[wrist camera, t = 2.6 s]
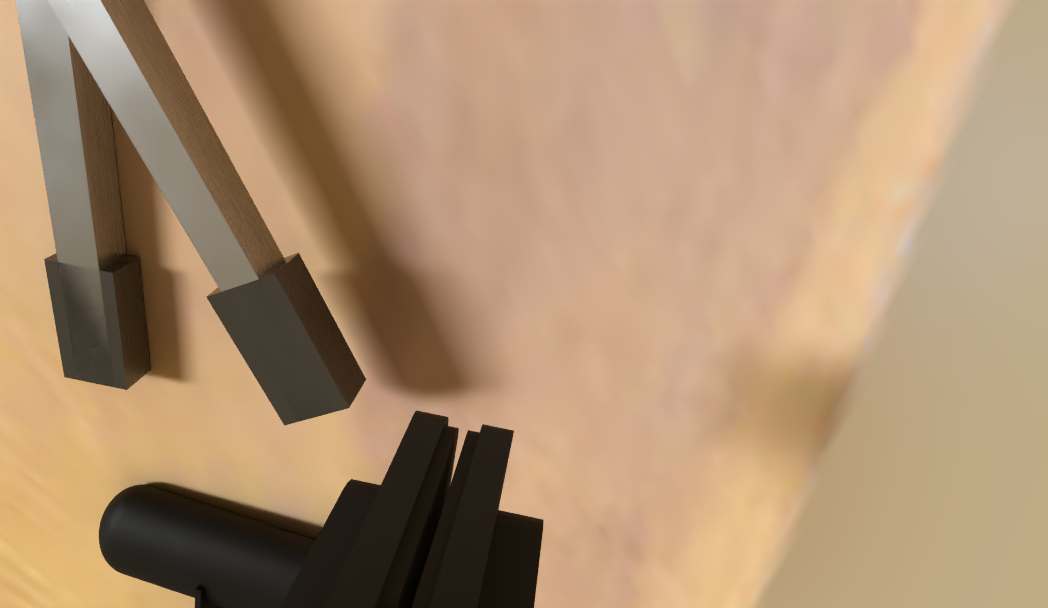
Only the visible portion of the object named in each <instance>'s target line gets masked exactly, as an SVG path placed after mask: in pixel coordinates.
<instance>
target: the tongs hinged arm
mask: <svg viewBox="0 0 1048 608" xmlns="http://www.w3.org/2000/svg"><path fill="white" fill-rule="evenodd" d="M48 2H49V4H50V5H51V7H52V9H53V10H54V12H55V14H56V16H57V17H58V19H59V21H60V22H61V24H62V26H63V27H64V29H65V31H66V32H67V34H68V36H69V37H70V39H71V41H72V42H73V44H74V46H75V47H76V49H77V51H78V52H79V54H80V56H81V57H82V59H83V61H84V62H85V64H86V66H87V67H88V69H89V71H90V72H91V74H92V76H93V78H94V79H95V81H96V83H97V84H98V86H99V88H100V89H101V91H102V93H103V94H104V96H105V98H106V99H107V101H108V103H109V104H110V106H111V108H112V109H113V111H114V113H115V114H116V116H117V118H118V119H119V121H120V123H121V124H122V126H123V128H124V129H125V131H126V133H127V134H128V136H129V138H130V140H131V141H132V143H133V145H134V146H135V148H136V150H137V151H138V153H139V155H140V156H141V158H142V160H143V161H144V163H145V165H146V166H147V168H148V170H149V171H150V173H151V175H152V176H153V178H154V180H155V181H156V183H157V185H158V186H159V188H160V190H161V191H162V193H163V195H164V196H165V198H166V200H167V202H168V203H169V205H170V207H171V208H172V210H173V212H174V213H175V215H176V217H177V218H178V220H179V222H180V223H181V225H182V227H183V228H184V230H185V232H186V233H187V235H188V237H189V238H190V240H191V242H192V243H193V245H194V247H195V248H196V250H197V252H198V253H199V255H200V257H201V259H202V260H203V262H204V264H205V265H206V267H207V269H208V270H209V272H210V274H211V275H212V277H213V279H214V280H215V282H216V284H217V285H218V288H217V289H216V290H215V291H213V292H212V293H211V294H209V295H208V296H207V299H208V300H209V302H210V304H211V305H212V307H213V309H214V310H215V312H216V313H217V315H218V317H219V318H220V320H221V322H222V323H223V325H224V327H225V328H226V330H227V332H228V333H229V335H230V336H231V338H232V340H233V341H234V343H235V345H236V346H237V348H238V350H239V351H240V353H241V355H242V356H243V358H244V359H245V361H246V363H247V364H248V366H249V368H250V369H251V371H252V373H253V374H254V376H255V378H256V379H257V381H258V383H259V384H260V386H261V387H262V389H263V391H264V392H265V394H266V396H267V397H268V399H269V401H270V402H271V404H272V406H273V407H274V409H275V410H276V412H277V414H278V415H279V417H280V419H281V420H282V422H283V424H284V425H288V424H291V423H295V422H299V421H302V420H306V419H310V418H314V417H317V416H321V415H325V414H328V413H332V412H336V411H340V410H343V409H347V408H349V407H350V405H351V404H352V402H353V400H354V399H355V397H356V395H357V394H358V392H359V391H360V389H361V387H362V386H363V384H364V382H365V381H366V378H365V376H364V375H363V373H362V371H361V369H360V367H359V365H358V363H357V361H356V360H355V358H354V356H353V354H352V352H351V350H350V348H349V346H348V345H347V343H346V341H345V339H344V337H343V335H342V333H341V331H340V330H339V328H338V326H337V324H336V322H335V320H334V318H333V316H332V315H331V313H330V311H329V309H328V307H327V305H326V303H325V301H324V300H323V298H322V296H321V294H320V292H319V290H318V288H317V286H316V285H315V283H314V281H313V279H312V277H311V275H310V273H309V271H308V270H307V268H306V266H305V264H304V262H303V260H302V258H301V256H300V255H299V253H297V254H294V255H291V256H288V257H285V258H284V257H283V255H282V253H281V252H280V250H279V248H278V246H277V244H276V242H275V241H274V239H273V237H272V235H271V233H270V231H269V230H268V228H267V226H266V224H265V222H264V220H263V219H262V217H261V215H260V213H259V211H258V209H257V207H256V206H255V204H254V202H253V200H252V198H251V196H250V195H249V193H248V191H247V189H246V187H245V185H244V184H243V182H242V180H241V178H240V176H239V174H238V173H237V171H236V169H235V167H234V165H233V163H232V162H231V160H230V158H229V156H228V154H227V152H226V151H225V149H224V147H223V145H222V143H221V141H220V139H219V138H218V136H217V134H216V132H215V130H214V128H213V127H212V125H211V123H210V121H209V119H208V117H207V116H206V114H205V112H204V110H203V108H202V106H201V105H200V103H199V101H198V99H197V97H196V95H195V94H194V92H193V90H192V88H191V86H190V84H189V83H188V81H187V79H186V77H185V75H184V73H183V71H182V70H181V68H180V66H179V64H178V62H177V60H176V59H175V57H174V55H173V53H172V51H171V49H170V48H169V46H168V44H167V42H166V40H165V38H164V37H163V35H162V33H161V31H160V29H159V27H158V26H157V24H156V22H155V20H154V18H153V16H152V15H151V13H150V11H149V9H148V7H147V5H146V3H145V2H144V0H48Z"/></svg>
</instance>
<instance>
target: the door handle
mask: <svg viewBox="0 0 1048 608" xmlns="http://www.w3.org/2000/svg"><path fill="white" fill-rule="evenodd" d="M315 541H316V540H314V539H311V538H308V537H305V536H301V535H298V534H295V533H292V532H289V531H286V530H283V529H280V528H277V527H274V526H271V525H268V524H265V523H262V522H259V521H256V520H253V519H250V518H247V517H244V516H241V515H237V514H234V513H231V512H228V511H225V510H222V509H219V508H216V507H213V506H210V505H207V504H204V503H201V502H198V501H195V500H192V499H189V498H186V497H183V496H180V495H177V494H173V493H170V492H167V491H164V490H161V489H158V488H155V487H152V486H148V485H136V486H132V487H129V488H127V489H125V490H123V491H122V492H120V493H119V494H118V495H116V496H115V497H114V498H113V499H112V501H111V502H110V503H109V505H108V506H107V508H106V510H105V511H104V514H103V516H102V519H101V522H100V528H99V544H100V548H101V552H102V554H103V556H104V558H105V560H106V561H107V563H108V564H109V565H110V566H111V567H112V568H113V569H115V570H116V571H118V572H120V573H122V574H125V575H128V576H131V577H134V578H137V579H140V580H143V581H146V582H149V583H152V584H155V585H158V586H161V587H164V588H167V589H170V590H173V591H176V592H179V593H182V594H185V595H188V596H191V597H194V598H195V608H280V606H281V604H282V603H283V601H284V599H285V597H286V595H287V593H288V591H289V590H290V588H291V586H292V584H293V582H294V580H295V578H296V576H297V575H298V573H299V571H300V569H301V567H302V565H303V563H304V562H305V560H306V558H307V556H308V554H309V552H310V550H311V549H312V547H313V545H314V543H315Z"/></svg>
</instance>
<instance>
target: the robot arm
mask: <svg viewBox="0 0 1048 608" xmlns="http://www.w3.org/2000/svg"><path fill="white" fill-rule="evenodd" d="M458 431H459V429H458V428H455V427H450V426H448V417H445V416H440V415H435V414H430V413H426V412H421V411H416V412H415V413H414V415H413V417H412V419H411V422H410V424H409V426H408V428H407V430H406V432H405V434H404V437H403V439H402V441H401V443H400V445H399V447H398V450H397V452H396V454H395V456H394V458H393V460H392V463H391V465H390V467H389V469H388V471H387V473H386V475H385V478H384V480H383V482H382V484H381V485H377V484H372V483H367V482H362V481H358V480H353V479H351V480H350V481H349V482H348V483H347V484H346V486H345V487H344V489H343V491H342V493H341V495H340V496H339V498H338V500H337V502H336V504H335V506H334V508H333V509H332V511H331V513H330V515H329V517H328V519H327V521H326V522H325V524H324V526H323V528H322V530H321V532H320V534H319V536H318V537H317V539H316V541H315V543H314V545H313V547H312V549H311V550H310V552H309V554H308V556H307V558H306V560H305V562H304V563H303V565H302V567H301V569H300V571H299V573H298V575H297V576H296V578H295V580H294V582H293V584H292V586H291V588H290V590H289V591H288V593H287V595H286V597H285V599H284V601H283V603H282V604H281V606H280V608H534V601H535V593H536V584H537V576H538V567H539V558H540V550H541V541H542V532H543V520H542V519H537V518H533V517H528V516H523V515H519V514H514V513H509V512H504V511H500V510H498V508H499V503H500V498H501V493H502V488H503V483H504V478H505V473H506V468H507V463H508V458H509V453H510V448H511V443H512V438H513V433H514V431H512V430H507V429H503V428H498V427H493V426H488V425H482V427H481V431H480V433H479V432H474V431H469V430H468V432H467V435H466V438H465V441H464V445H463V448H462V451H461V454H460V457H459V460H458V463H457V466H456V470H455V473H454V476H453V479H452V482H451V477H452V471H453V465H454V458H455V452H456V445H457V439H458ZM450 484H451V485H450Z"/></svg>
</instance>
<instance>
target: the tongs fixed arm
mask: <svg viewBox="0 0 1048 608" xmlns="http://www.w3.org/2000/svg"><path fill="white" fill-rule="evenodd" d="M16 5H17V11H18V18H19V24H20V30H21V36H22V42H23V49H24V55H25V61H26V67H27V73H28V79H29V86H30V92H31V98H32V104H33V110H34V117H35V123H36V129H37V135H38V141H39V148H40V154H41V160H42V166H43V172H44V178H45V185H46V191H47V197H48V203H49V209H50V216H51V222H52V228H53V234H54V240H55V247H56V254H54V255H52V256H50V257H48V258H46V259H44V260H45V266H46V272H47V278H48V284H49V289H50V295H51V301H52V307H53V313H54V319H55V324H56V330H57V336H58V342H59V348H60V354H61V359H62V365H63V371H64V377H67V378H72V379H77V380H81V381H86V382H91V383H96V384H101V385H106V386H111V387H116V388H121V389H126V390H127V389H129V388H130V387H131V386H132V385H133V384H134V383H136V382H137V381H138V380H139V379H140V378H141V377H143V376H144V375H145V374H146V373H147V372H149V371H150V370H151V367H150V357H149V347H148V337H147V327H146V318H145V308H144V298H143V288H142V278H141V268H140V258H139V257H135V256H130V255H126V246H125V237H124V228H123V219H122V210H121V201H120V192H119V183H118V174H117V165H116V156H115V147H114V138H113V129H112V120H111V111H110V104H109V103H108V101H107V99H106V98H105V96H104V94H103V93H102V91H101V89H100V88H99V86H98V84H97V83H96V81H95V79H94V78H93V76H92V74H91V72H90V71H89V69H88V67H87V66H86V64H85V62H84V61H83V59H82V57H81V56H80V54H79V52H78V51H77V49H76V47H75V46H74V44H73V42H72V41H71V39H70V37H69V36H68V34H67V32H66V31H65V29H64V27H63V26H62V24H61V22H60V21H59V19H58V17H57V16H56V14H55V12H54V10H53V9H52V7H51V5H50V4H49V2H48V0H16Z"/></svg>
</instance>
